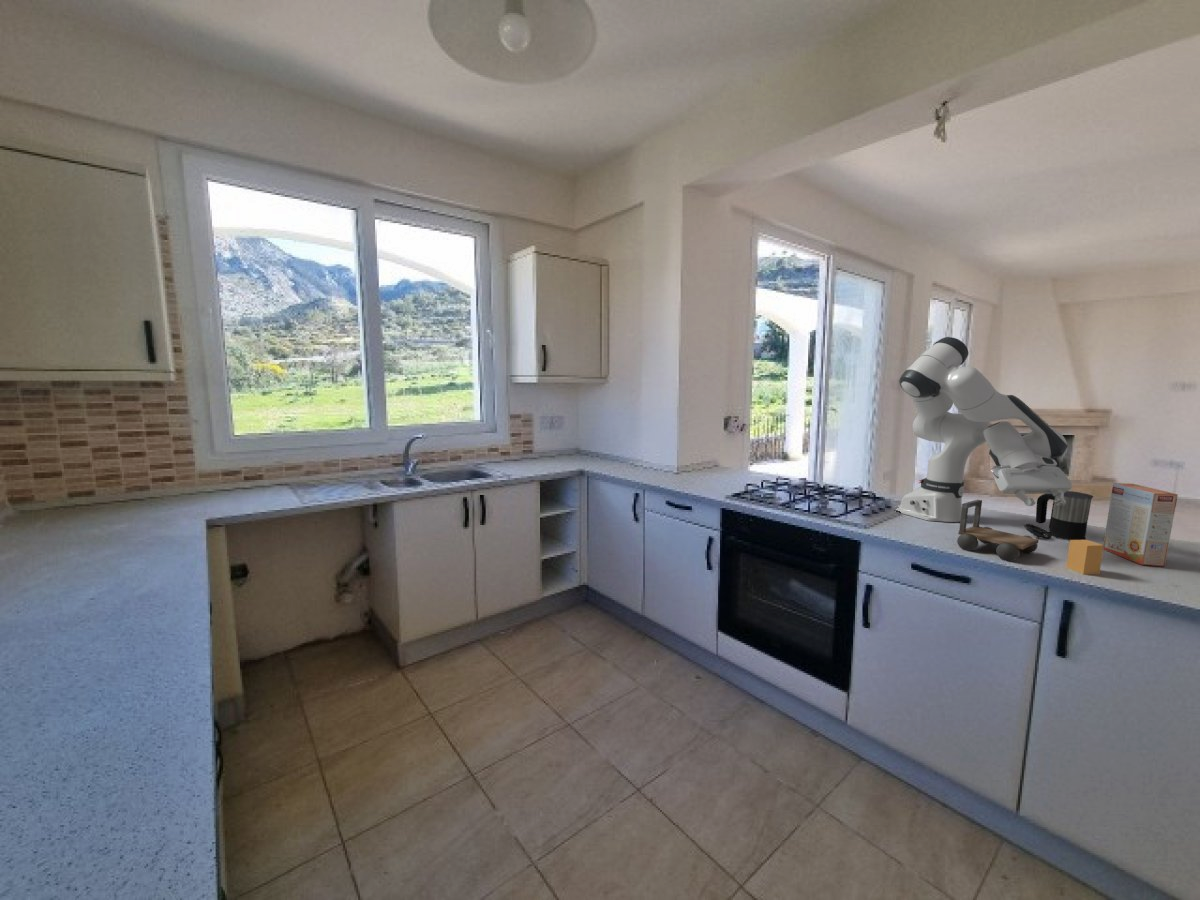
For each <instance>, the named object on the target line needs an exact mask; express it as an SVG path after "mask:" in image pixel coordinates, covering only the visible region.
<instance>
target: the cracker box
mask: <svg viewBox="0 0 1200 900" xmlns="http://www.w3.org/2000/svg"><path fill="white" fill-rule="evenodd" d="M1178 497H1179V496H1178V493H1173V492H1169V491H1165V490H1160V489H1156V488H1152V487H1149V486H1145V485H1139V484H1135V483H1122V482H1119V483H1117V482H1115V483H1112V489H1111V495H1110V500H1109V501H1110V502H1109V508H1108V513H1107V520H1106V525H1105V526H1106V527H1105V532H1104V539H1103V544H1102V545H1104V548H1103V551H1104V550H1105V551H1107V552H1110V553H1111V554H1114V555H1117V556H1120V557H1122V558H1124V559H1126V560H1129V561H1131V562H1134V563H1136V564H1138V565H1141V566H1150V565H1151V566H1152V567H1165V566H1166V561H1167V554H1168V550H1169V545H1170V539H1171V533H1172V529H1173V524H1174V523H1173V522H1174V516H1175V512H1176V506H1177V503H1178V502H1177V501H1178ZM1151 566H1150V567H1151Z"/></svg>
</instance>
